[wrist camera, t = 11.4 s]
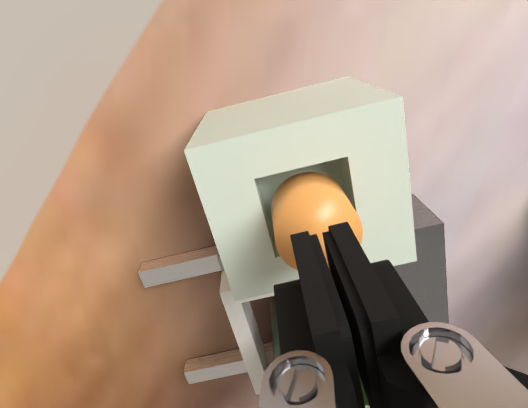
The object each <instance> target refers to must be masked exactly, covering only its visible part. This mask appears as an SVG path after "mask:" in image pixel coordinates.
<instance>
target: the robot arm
mask: <svg viewBox="0 0 528 408" xmlns="http://www.w3.org/2000/svg"><path fill="white" fill-rule="evenodd" d="M328 229H329V231H327V232H322V235H323V240H324V245H325V250H326V255H327V260H328V264H327V261H326V259H325V256H324V253H323V250H322V247H321V245H320V242H319V239H318V236H317V234H314V235H309V232H308V231H304V232H300V233H296V234H292V235H290V238H291V243H292V247H293V252H294V256H295V261H296V266H297V270H298V275H299V279H298V280H293V281H289V282H284V283H280V284H276V285H274V297H275V307H276V316H277V325H278V335H279V344H280V353H281V356H279V357H278V358H276V359H275V360H274V361H273V362H272V363H270V365H269V366H268V368H267V369H266V371H265V372H264V375H263V378H262V382H261V389H260V397H259V405H258V408H365V403H364V398H363V393H362V387H361V382H362V385H363V388H364V391H365V394H366V397H367V400H368V403H369V406H370V408H528V375H526V374H523V373H521V372H518V371H515V370H512V369H510V368H507V367H504V366H503V365H502V364H501V363H500V362H499V361H498V360H497V359H496V358H495V357H494V356H493V355H492V354H491V353H490V352H489V351H488V350H487V349H486V348H485V347H484V346H483V345H482V344H481V343H480V342H479V341H478V340H477V339H476V338H475V337H473V336H472V335H471V334H469V333H468V332H467V331H465V330H464V329H462V328H459V327H457V326H455V325H452V324H447V323H443V322H429V321H428V319H427V318H426V316H425V315H424V313H423V311H422V310H421V308H420V307H419V305H418V304H417V302H416V301H415V299H414V298H413V296H412V294H411V293H410V291H409V290H408V288H407V287H406V285H405V284H404V282H403V280H402V279H401V277H400V276H399V274H398V273H397V271H396V270H395V268H394V266H393V265H392V263H391V262H390V261H389V260H382V261H378V262H373V263H370V261H369V260H368V258H367V256H366V254H365V252H364V250H363V249H362V247H361V245H360V243H359V241H358V240H357V238H356V236H355V234H354V232H353V230H352V229H351V227H350V225H349V223H348V222H343V223H339V224H335V225H330V226H328ZM328 265H329V267H328ZM359 376H360V377H359ZM360 379H361V382H360Z"/></svg>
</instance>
